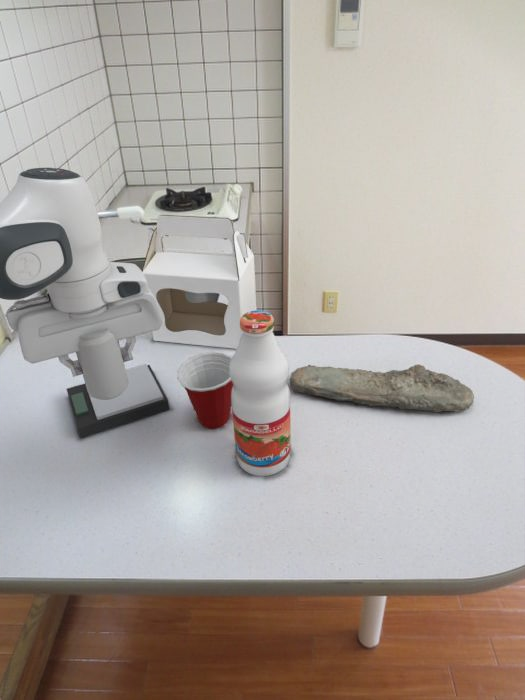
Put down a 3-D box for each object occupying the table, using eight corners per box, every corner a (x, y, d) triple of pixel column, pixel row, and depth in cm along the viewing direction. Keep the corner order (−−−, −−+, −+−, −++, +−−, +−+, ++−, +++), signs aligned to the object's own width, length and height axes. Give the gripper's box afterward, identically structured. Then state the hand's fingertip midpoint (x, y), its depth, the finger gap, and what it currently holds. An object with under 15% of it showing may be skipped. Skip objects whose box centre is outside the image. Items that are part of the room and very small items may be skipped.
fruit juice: (291, 438, 94) (291, 302, 78) (289, 479, 86) (288, 337, 70) (239, 436, 95) (228, 301, 79) (232, 476, 87) (218, 335, 71)
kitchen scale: (80, 438, 96) (76, 425, 94) (69, 398, 106) (65, 385, 104) (169, 409, 102) (167, 396, 100) (151, 373, 111) (148, 361, 110)
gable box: (258, 319, 128) (252, 207, 112) (244, 350, 117) (237, 231, 101) (172, 312, 132) (155, 203, 116) (152, 341, 122) (130, 225, 106)
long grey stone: (295, 373, 112) (286, 405, 104) (293, 354, 109) (284, 385, 101) (470, 385, 103) (474, 421, 96) (474, 364, 100) (478, 400, 92)
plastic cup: (179, 407, 102) (171, 357, 95) (233, 395, 105) (228, 345, 98) (190, 445, 94) (181, 393, 87) (248, 431, 96) (244, 379, 89)
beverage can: (88, 406, 80) (68, 341, 73) (88, 381, 85) (70, 318, 79) (130, 398, 82) (114, 333, 75) (128, 374, 87) (113, 311, 80)
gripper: (3, 315, 67) (34, 398, 75) (157, 278, 74) (171, 358, 82) (0, 294, 72) (30, 374, 80) (146, 261, 79) (160, 338, 87)
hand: (103, 366), depth 81 cm, fingers closed on beverage can, 6 cm apart
